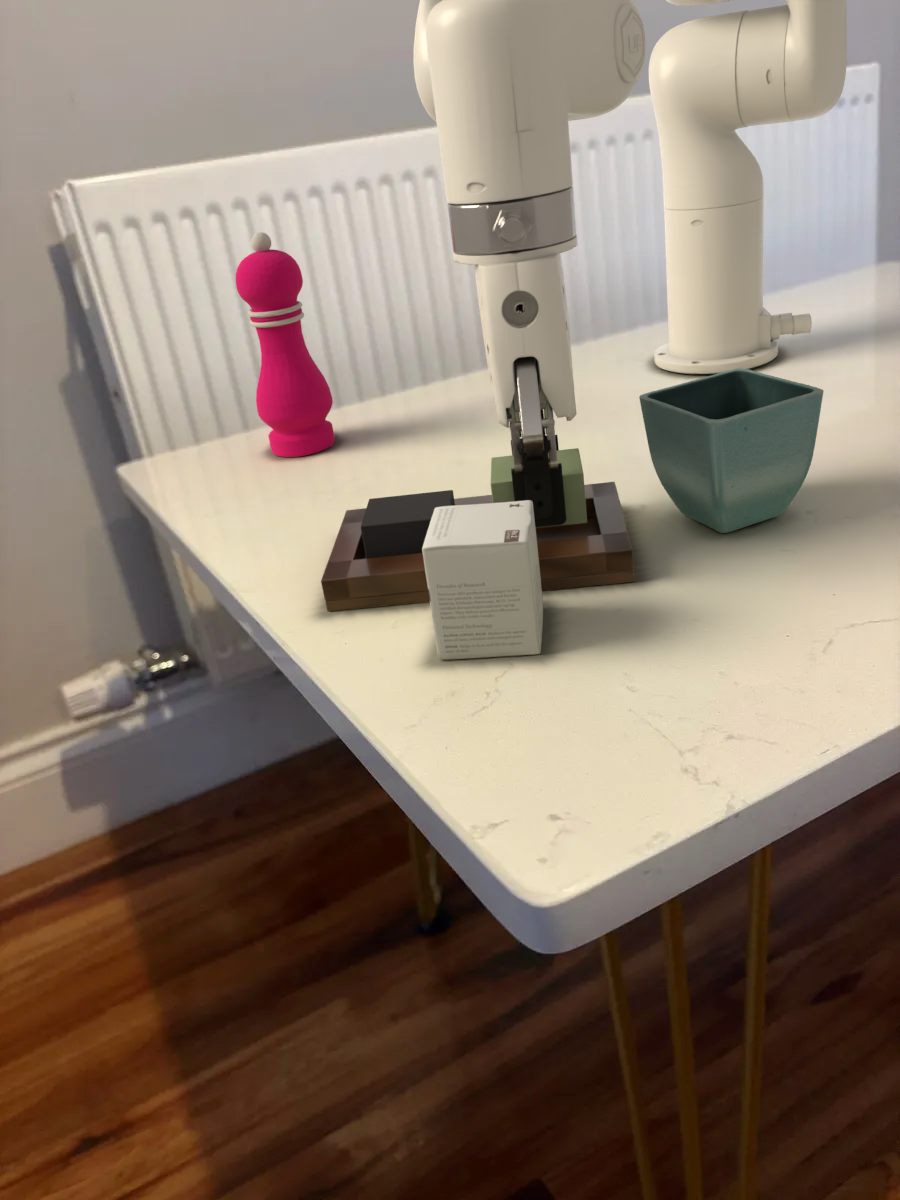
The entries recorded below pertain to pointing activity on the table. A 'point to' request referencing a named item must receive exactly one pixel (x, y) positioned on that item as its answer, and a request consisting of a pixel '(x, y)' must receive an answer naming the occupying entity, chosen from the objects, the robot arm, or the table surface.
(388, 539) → the black block
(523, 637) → the product carton
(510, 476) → the green rectangular block
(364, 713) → the table surface
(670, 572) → the table surface
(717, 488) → the flower pot
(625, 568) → the wooden tray
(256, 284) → the pepper mill
